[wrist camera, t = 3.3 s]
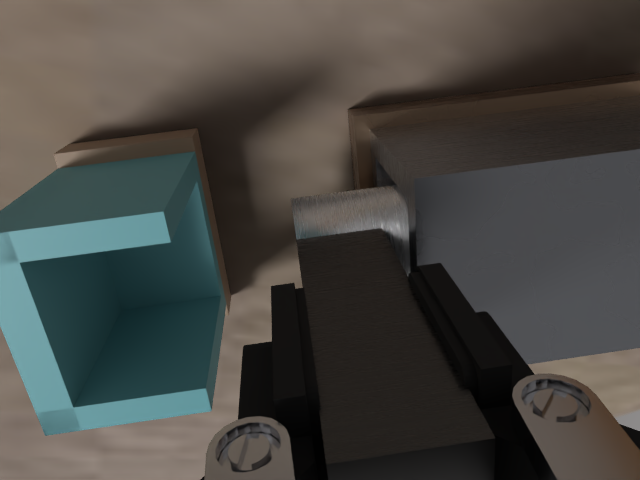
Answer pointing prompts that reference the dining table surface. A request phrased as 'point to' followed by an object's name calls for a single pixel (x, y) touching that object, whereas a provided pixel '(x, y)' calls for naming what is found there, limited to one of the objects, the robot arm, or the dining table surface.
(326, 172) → the dining table surface
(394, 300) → the tube
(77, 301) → the far socket
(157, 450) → the dining table surface
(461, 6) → the dining table surface
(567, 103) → the tube sleeve
